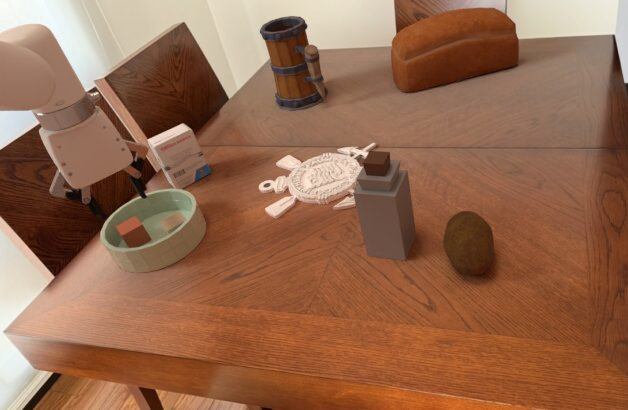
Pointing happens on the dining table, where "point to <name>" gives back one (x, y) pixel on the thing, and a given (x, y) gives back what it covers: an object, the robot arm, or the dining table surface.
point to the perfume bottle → (385, 207)
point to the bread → (453, 48)
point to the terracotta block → (133, 232)
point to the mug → (293, 64)
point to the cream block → (172, 222)
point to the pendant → (317, 180)
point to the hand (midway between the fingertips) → (122, 204)
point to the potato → (469, 243)
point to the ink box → (179, 156)
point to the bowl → (155, 230)
